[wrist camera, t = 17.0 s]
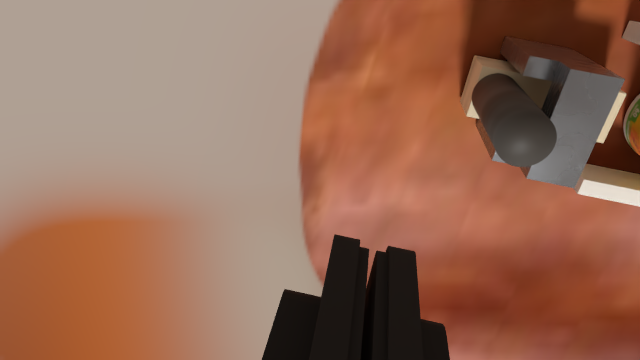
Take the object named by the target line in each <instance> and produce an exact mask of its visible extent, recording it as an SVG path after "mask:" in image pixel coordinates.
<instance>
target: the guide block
mask: <svg viewBox="0 0 640 360" xmlns="http://www.w3.org/2000/svg"><path fill="white" fill-rule="evenodd" d="M500 53H501V54H502V55H503V56H504V57H505V58H506V59H507V60H508V61H509V62H510V63H511V64H512V65H513V66H514V67H515V68H516V69H517V70H518V71H519V72H520V73H521V74H522V75H523V76H528V77H533V78H539V79H544V80H549V81H552V83H551V86H550V88H549V91H548V94H547V96H546V99H545V101H544V104H543V106H542V109H541V110H542V111H543V112H544V114H545V115H546V116H547V117H548V118H549V119H550V120H551V121H552V123H553V124H554V126H555V128H556V132H557V140H556V144H555V147H554V149H553V150H552V152H551V153H550V154H549V155H548V156H547V157H546V158H545V159H544V160H542V161H541V162H539V163H537V164H535V165H532V166H527V167H520V168H521V170H522V172H523V173H524V175H525V177H526V178H527V179H532V180H537V181H542V182H547V183H552V184H557V185H561V186H566V187H571V188H575V186H576V184H577V182H578V180H579V178H580V176H581V173H582V171H583V169H584V167H585V165H586V163H587V160H588V158H589V156H590V154H591V152H592V150H593V147H594V145H595V143H596V141H597V139H598V137H599V134H600V132H601V130H602V128H603V126H604V124H605V121H606V119H607V117H608V115H609V113H610V111H611V108H612V106H613V104H614V102H615V100H616V98H617V95H618V93H619V91H620V89H621V87H622V85H623V82H624V80H625V79H624V78H622V77H620V76H618V75H617V74H615V73H613V72H611V71H610V70H608V69H606V68H604V67H603V66H601V65H599V64H597V63H596V62H594V61H592V60H591V59H589V58H587V57H585V56H584V55H582V54H580V53H578V52H577V51H575V50H573V49H571V48H566V47H560V46H555V45H550V44H544V43H539V42H534V41H529V40H523V39H518V38H513V37H507V36H505V38H504V41H503V44H502V47H501V50H500ZM476 127H477V129H478V131H479V133H480V135H481V138H482V140H483V142H484V144H485V146H486V148H487V151H488V153H489V155H490V157H491V159H492V160H493V161H498V162H503V163H506V162H504V161H503V160H502V159H501V158H500V157H499V156H498V154H497V152H496V150H495V148H494V146H493V144H492V142H491V140H490V138H489V136H488V134H487V132H486V130H485V128H484V126H483V124H482V122H481V120H480V119H478V120H477V123H476Z"/></svg>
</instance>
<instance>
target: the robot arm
mask: <svg viewBox="0 0 640 360" xmlns="http://www.w3.org/2000/svg"><path fill="white" fill-rule="evenodd" d="M368 257H369V249H367V248H362V247H360V240H359V239H354V238H349V237H344V236H340V235H334V239H333V244H332V249H331V253H330V258H329V263H328V268H327V272H326V277H325V282H324V287H323V291H322V296H321V297H318V296H314V295H309V294H305V293H300V292H295V291H291V290H286V289H285V290H284V292H283V294H282V297H281V300H280V304H279V307H278V310H277V313H276V316H275V320H274V323H273V326H272V329H271V332H270V335H269V338H268V342H267V345H266V348H265V351H264V355H263V357H262V360H450V357H449V350H448V343H447V336H446V330H445V327H444V325H443V324H441V323H436V322H432V321H427V320H423V319H420V306H419V292H418V279H417V266H416V254H415V252H414V251H410V250H405V249H401V248H396V247H391V246H388V247H387V250H386V252H381V251H376V254H375V258H374V261H373V265H372V269H371V273H370V277H369V280H368V284H367V288H366V283H367V270H368Z"/></svg>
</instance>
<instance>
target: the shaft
mask: <svg viewBox="0 0 640 360" xmlns="http://www.w3.org/2000/svg"><path fill="white" fill-rule="evenodd" d="M551 83H552V81H549V80H544V79H539V78H533V77H528V76H523V75H522V74H521V73H520V72H519V71H518V70H517V69H516V68H515V67H514V66H513V65H512V64H511V63H510V62H508V61H502V60H497V59H492V58H487V57H481V56H476V55H474V58H473V61H472V64H471V68H470V71H469V74H468V77H467V81H466V84H465V87H464V90H463V94H462V97H461V100H460V102H461V105H462V107H463V109H464V112H465V114H466V116H468V117H473V118H478V119H480V120H481V122H482V124H483V126H484V128H485V130H486V132H487V134H488V136H489V138H490V140H491V142H492V144H493V146H494V148H495V150H496V152H497V154H498V156H499V157H500V158H501V159H502V160H503V161H504V162H506V163H507V164H510V165H512V166H517V167H527V166H532V165H535V164H537V163H539V162H541V161H542V160H544V159H545V158H546V157H547V156H548V155H549V154H550V153H551V152H552V150H553V149H554V147H555V144H556V140H557V132H556V128H555V126H554V124H553V123H552V121H551V120H550V119H549V118H548V117H547V116H546V115H545V114H544V112H543V111H542V110H541V109H542V106H543V104H544V101H545V99H546V96H547V94H548V91H549V88H550V86H551ZM625 96H626V93H625V92H623V91H621V90H620V91H619V93H618V95H617V98H616V100H615V102H614V104H613V106H612V108H611V111H610V113H609V115H608V117H607V119H606V121H605V124H604V126H603V128H602V130H601V132H600V134H599V137H598V139H597V141H596V142H599V143H604V141H605V139H606V137H607V135H608V132H609V130H610V128H611V126H612V124H613V122H614V120H615V118H616V115H617V113H618V111H619V109H620V107H621V105H622V103H623V101H624V98H625Z"/></svg>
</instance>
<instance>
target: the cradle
mask: <svg viewBox="0 0 640 360" xmlns="http://www.w3.org/2000/svg"><path fill="white" fill-rule="evenodd" d="M622 38H623V39H626V40H628V41H631V42H633V43H636V44H638V45H640V22H635V21H630V20H629V23H628V25H627V27H626V29H625V32H624V34H623V36H622ZM574 190H575V191H576V193H577V194H581V195H586V196H591V197H596V198H601V199H606V200H611V201H615V202H620V203H625V204H630V205H635V206H640V174H636V173H631V172H626V171H621V170H616V169H611V168H606V167H601V166H596V165H591V164H586V165H585V167H584V169H583V171H582V173H581V176H580V178H579V180H578V182H577V184H576V186H575V188H574Z"/></svg>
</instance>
